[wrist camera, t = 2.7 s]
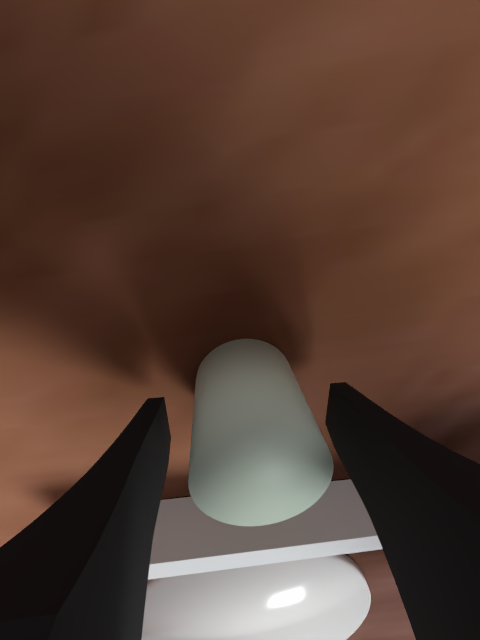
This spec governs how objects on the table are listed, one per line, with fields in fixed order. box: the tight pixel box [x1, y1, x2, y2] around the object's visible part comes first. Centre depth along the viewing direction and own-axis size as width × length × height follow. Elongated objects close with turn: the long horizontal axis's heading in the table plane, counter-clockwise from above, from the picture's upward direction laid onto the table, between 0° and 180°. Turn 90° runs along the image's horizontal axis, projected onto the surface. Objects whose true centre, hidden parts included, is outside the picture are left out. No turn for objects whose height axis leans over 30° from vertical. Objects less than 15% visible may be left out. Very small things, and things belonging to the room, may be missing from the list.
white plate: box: [141, 554, 371, 640], centre depth 21 cm, size 18×18×1 cm
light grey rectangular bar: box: [148, 479, 383, 580], centre depth 15 cm, size 18×1×3 cm, turn 92°
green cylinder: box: [188, 339, 334, 526], centre depth 11 cm, size 4×4×5 cm
